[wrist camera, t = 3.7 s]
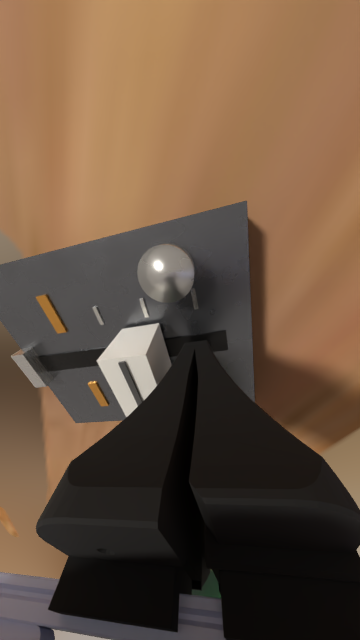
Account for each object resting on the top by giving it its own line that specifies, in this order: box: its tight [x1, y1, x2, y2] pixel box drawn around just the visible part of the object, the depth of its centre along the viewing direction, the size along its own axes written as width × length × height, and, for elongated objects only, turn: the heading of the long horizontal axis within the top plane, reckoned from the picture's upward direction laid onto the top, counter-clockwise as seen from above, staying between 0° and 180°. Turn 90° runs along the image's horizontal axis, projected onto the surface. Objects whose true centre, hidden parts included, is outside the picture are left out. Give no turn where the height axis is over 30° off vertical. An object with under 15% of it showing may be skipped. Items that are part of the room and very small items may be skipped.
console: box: [0, 201, 255, 423], centre depth 12 cm, size 16×14×3 cm
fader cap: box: [97, 323, 172, 417], centre depth 10 cm, size 2×4×3 cm, turn 12°
